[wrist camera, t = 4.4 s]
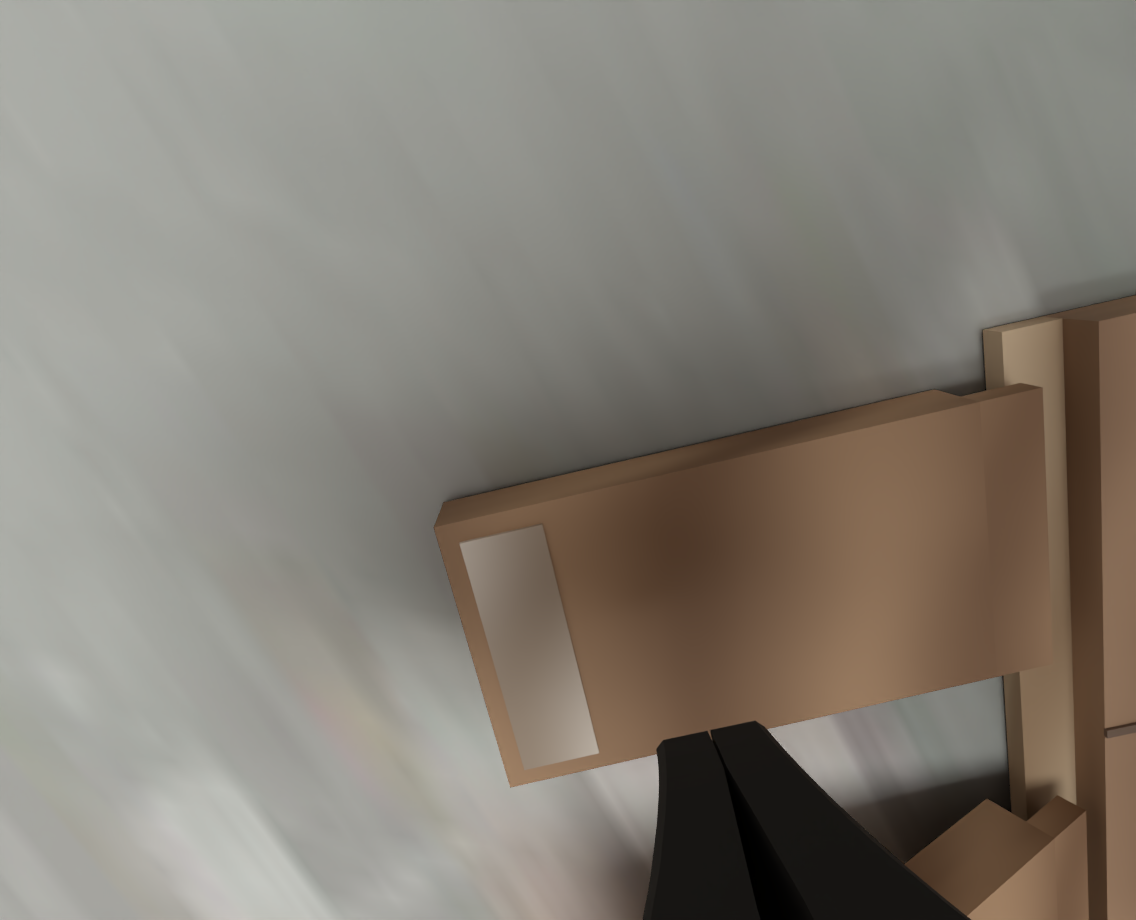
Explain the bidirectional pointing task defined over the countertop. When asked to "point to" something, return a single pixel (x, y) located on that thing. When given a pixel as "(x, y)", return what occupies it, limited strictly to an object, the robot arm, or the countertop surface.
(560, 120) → the countertop surface
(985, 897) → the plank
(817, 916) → the robot arm
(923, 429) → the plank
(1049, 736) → the laid floor
